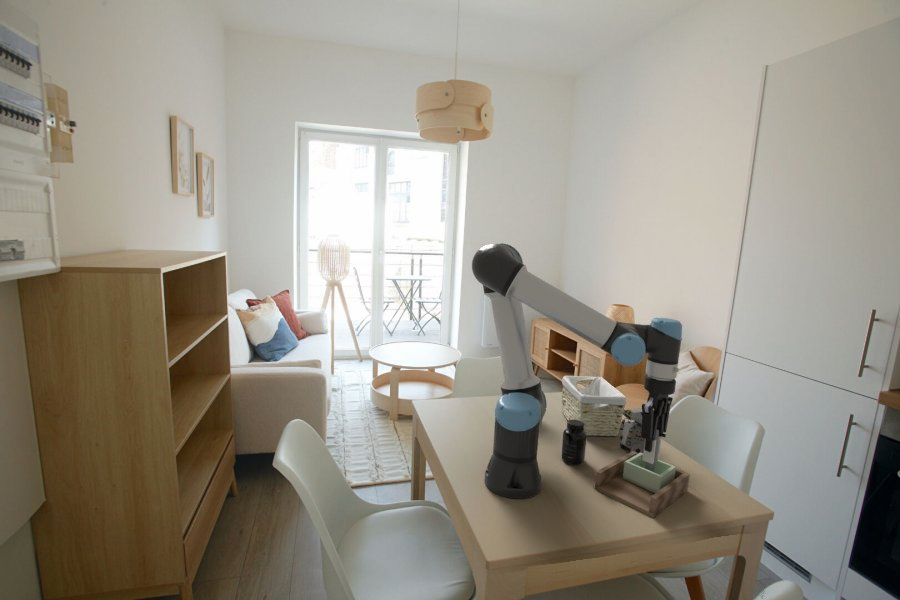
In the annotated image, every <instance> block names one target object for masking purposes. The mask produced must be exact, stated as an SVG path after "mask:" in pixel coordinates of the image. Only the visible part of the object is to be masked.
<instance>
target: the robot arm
mask: <svg viewBox="0 0 900 600" xmlns="http://www.w3.org/2000/svg"><path fill="white" fill-rule="evenodd" d="M522 257H523V256H521V254H520V252H519V251H518V250H517V249H516V248H515V247H514V246H512V245H511V244H508V243H501V242H500V243H489V244H486V245H484V246H482V247H480V248H479V249H478V250H477V251H476V252H475V253H474V256H473V258H472V262H471V270H472V273H473V276H474V277H475V279H476V280H477V281H478V283H480V285H482V288H483V293H484V295H485V296H486V297H488V298H489V299H490V302H491V304H490V305H491V308H492V315H493V319H494V325H495V332H496V336H497V341H498V342H497V343H498V348H499V354H500V361H501V366H502V372H503V376H504V378H503V381H502V382H501V384H500V390H501V396H500V397H499V398H498V400H497V401H496V405H495V408H494V416H495V417H494V432H493V433H494V434H493V447H492V448H493V449H492V455H491V457H490V459H489V462H488V464H487V466H486V469H485V471H484V484H485V486H486V487H487V488H488V489H489V490H490V491H491V492H492V493H495V494H496V495H498V496H501V497H504V498H508V499H517V500H518V499H529V498H532V497H535V496H536V495H538V494H539V493H540V491H541V489H542V483H543V482H542V475H541V473H540V469H539V463H538V459H537V458H538V446H539V434H540V428H541V426H542V422H543V419H544V416H545V414H546V411H547V405H548V404H547V397H546V395H545V393H544V392H545V391H544V390H543V388H542V383H541V382H542V381H541V379H540V377H538V376H537V375H535V371H534V372H533V366H532V362H533V360H532V357H531V349H530V344H529V339H528V333H527V327H526V320H525V314H524V309H523V304H524V305H526V306H528V307H529V308H530V309H533V310H534V311H536V312H538V313H539V314H541V315H543V316H545V317H547V318H548V319H549V320H551V321H553V322H555V323H556V324H559V325H560V326H562V327H564V328H565V329H567V330H569V331H570V332H572V333H574V334H576V335H577V336H578V337H580V338H582V339H584V340H585V341H586V342H588V343H590V344H592V345H594V346H596V347H598V348H599V349H601V350H602V351H604V352H605V353H607V354H608V355H611V356H612V358H613V359H614V360H615V361H616V362H617V363H618V364H620V365H621V366H625V367H633V366H636V365H638V364H640V363H641V362H642V361H643V360H644V358H645V355H646V354H647V357H646V364H645V366H646V367H645V376H644V383H643V384H644V385H643V386H644V387H643V388H644V390H646V391H647V392H648V397H647V399H646V402H647V403H642V405H641V408H642V429H641V437H642V438H645V443H644V452H643V460H644V461H646V462H648V463H651V464H653V463H654V456H655V448H656V440H655V435H656V429H657V430H659V437H658V445H657V453H656V460H657V461H658V460H660V454H661V445H662V438H666V436H667V434H665V433H666V432H667V428H668V423H669V418H670V411H671V406H672V405H671V404H672V402H673V397H672V396H670V395H674V394H675V393H676V386H677V381H676V378H677V375H678V372H680V368H679V366H678V365H679V361H680V359H679V358H680V351H681V346H682V345H681V344H682V340H683V338H682V334H683V333H682V332H683V324H682V322H681V321H680V320H677V319H673V318H667V317H653V318H652V319H651V322H650V323H649V324H639V323H630V322H622V321H620V322H619V321H618V320H617V321H615V320H613V319H611V318H610V317H608V316H606V315H604V314H603V313H601V312H599V311H597V310H595V309H594V308H592V307H590V306H589V305H587V304H585V303H583V302H582V301H580V300H578V299H576V298H575V297H573V296H571V295H569V294H568V293H567V292H564V291H563V290H561V289H559V288H558V287H555V286H554V285H553V284H551V283H549V282H547V281H545V280H543V279H541V278H540V277H538V276H537V275H535V274H533V273H531V272H530V271H528V269H527V266H526V264H524V262H523V261H524V260H523V258H522Z"/></svg>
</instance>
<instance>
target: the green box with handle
mask: <svg viewBox="0 0 900 600" xmlns="http://www.w3.org/2000/svg"><path fill="white" fill-rule="evenodd" d="M658 437H659V430H657V429H656V435H655V440H656V448H655V456H654V463H653V464H651V463H648V462H646V461H644V460H643V453H639V454H637V455H635V456H634V457H632V458H630V459H628V460H626V461H625V464H624V473H623V479H625V480H627V481H629V482H632V483H634V484H636V485H638V486H640V487H643V488H645V489H647V490H649V491H651V492H654V493H657V492H658V491H659V490H661V489H662V488H664V487H665V486H666V485H668V484H669V483H670V482H672V481H673V480H674V479H675V471H676V469H677V466H675V465H672V464H671V463H668V462H666V461H663V460H660V459H659V460H658V461H657V460H656V453H657V445H658Z"/></svg>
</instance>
